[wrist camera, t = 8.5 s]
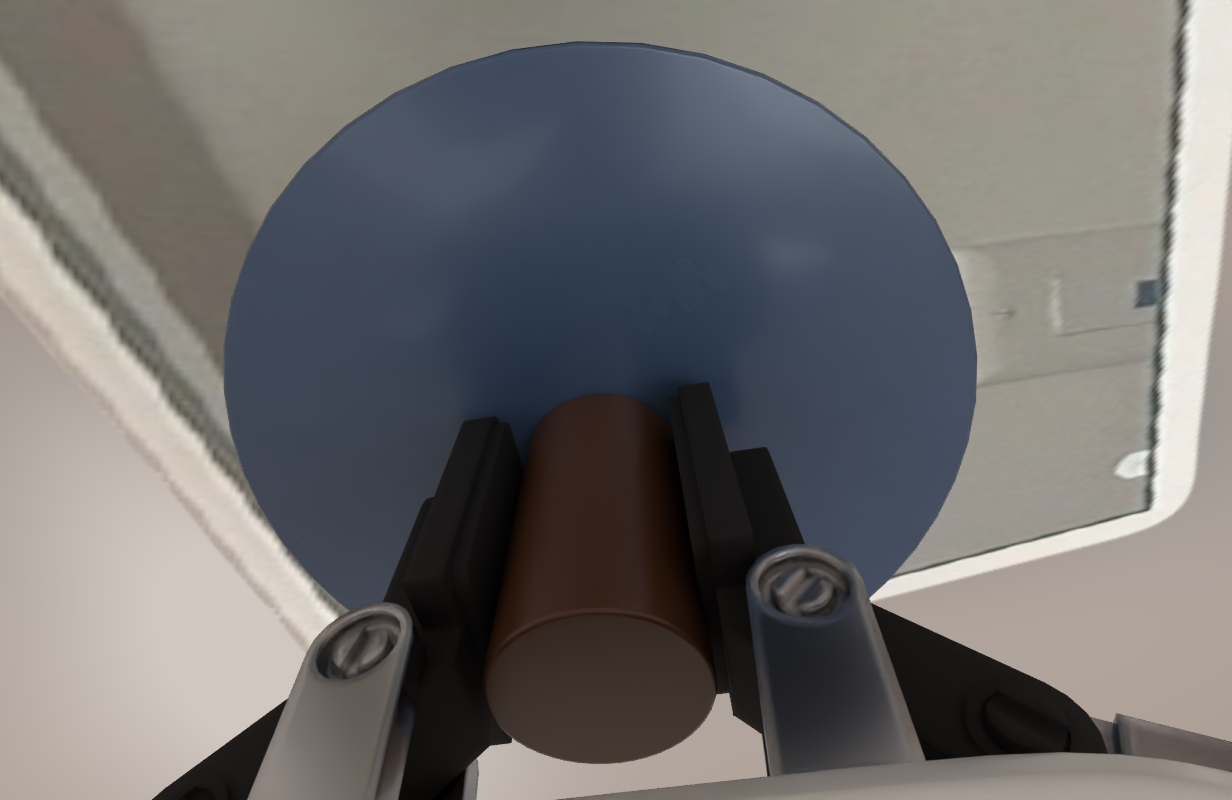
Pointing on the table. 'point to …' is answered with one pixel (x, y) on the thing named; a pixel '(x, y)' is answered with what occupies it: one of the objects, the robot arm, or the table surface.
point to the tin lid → (597, 354)
